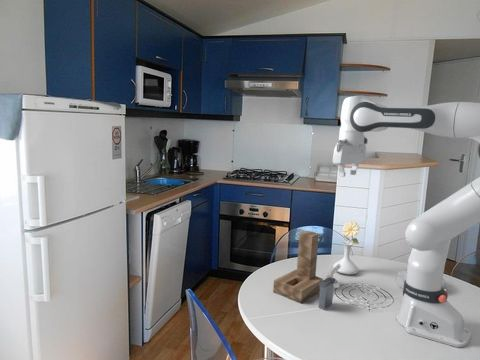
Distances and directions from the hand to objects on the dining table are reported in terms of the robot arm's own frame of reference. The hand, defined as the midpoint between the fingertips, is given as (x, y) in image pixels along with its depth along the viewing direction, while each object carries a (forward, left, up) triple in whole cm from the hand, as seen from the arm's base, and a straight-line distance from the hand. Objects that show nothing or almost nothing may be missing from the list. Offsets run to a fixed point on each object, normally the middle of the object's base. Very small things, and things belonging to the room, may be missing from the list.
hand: (347, 175), depth 141 cm
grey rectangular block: (-2, +13, -48) cm, 50 cm away
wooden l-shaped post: (+12, +10, -48) cm, 51 cm away
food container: (-22, -34, -49) cm, 63 cm away
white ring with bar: (+6, -6, -48) cm, 49 cm away
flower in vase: (+7, -23, -48) cm, 54 cm away
